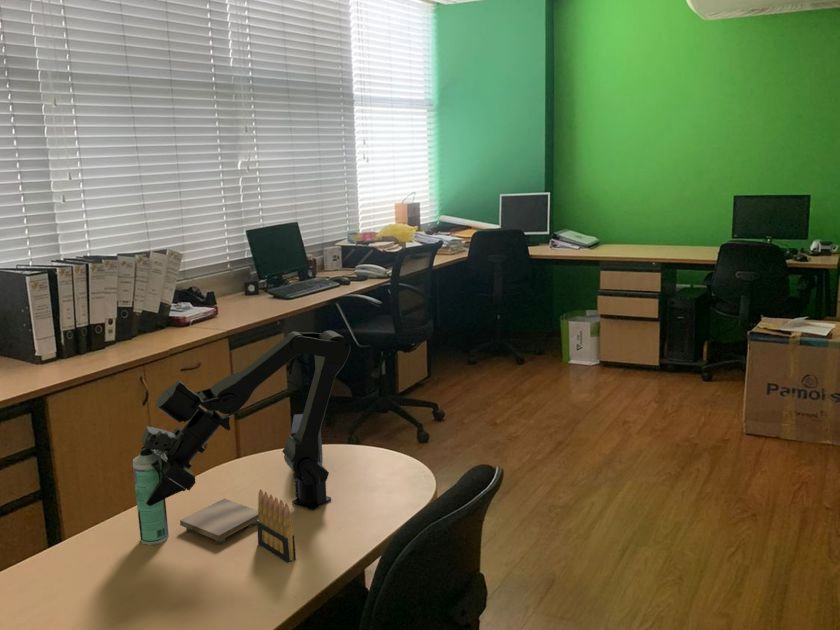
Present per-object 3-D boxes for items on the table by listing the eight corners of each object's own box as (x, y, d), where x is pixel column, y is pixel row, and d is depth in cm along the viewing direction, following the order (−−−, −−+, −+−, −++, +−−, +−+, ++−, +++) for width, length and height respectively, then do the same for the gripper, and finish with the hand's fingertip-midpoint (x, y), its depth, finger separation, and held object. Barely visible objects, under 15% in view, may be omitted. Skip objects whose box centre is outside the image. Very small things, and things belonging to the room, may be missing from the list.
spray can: (173, 532, 163) (164, 442, 158) (162, 545, 157) (152, 453, 153) (147, 531, 163) (138, 442, 159) (136, 544, 158) (126, 452, 154)
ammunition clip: (296, 559, 151) (293, 502, 149) (288, 563, 150) (285, 506, 147) (265, 540, 159) (262, 486, 156) (257, 544, 157) (254, 489, 155)
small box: (295, 457, 200) (293, 413, 198) (322, 456, 201) (320, 412, 199) (293, 479, 188) (290, 432, 185) (321, 477, 188) (319, 430, 186)
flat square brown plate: (263, 522, 166) (262, 512, 166) (219, 546, 157) (218, 535, 156) (225, 508, 173) (224, 498, 172) (181, 531, 163) (179, 520, 163)
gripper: (155, 400, 165) (105, 459, 162) (173, 427, 148) (117, 493, 146) (196, 428, 170) (148, 486, 167) (217, 457, 154) (164, 522, 151)
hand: (144, 495), depth 158 cm, fingers open, 9 cm apart
